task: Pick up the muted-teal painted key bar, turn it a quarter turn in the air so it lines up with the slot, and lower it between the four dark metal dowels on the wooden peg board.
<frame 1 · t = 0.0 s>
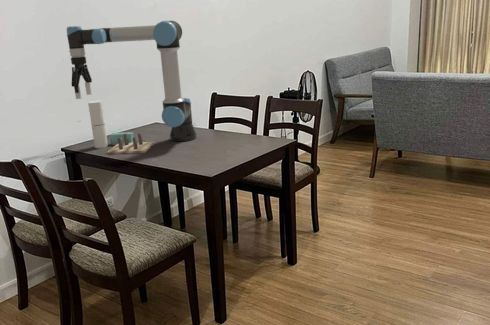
hand: (84, 96, 264), 28 cm above the table, fingers open, 13 cm apart
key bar: (123, 143, 275), on the table
wooden peg board: (131, 148, 263), on the table
cylindrical container: (101, 146, 272), on the table
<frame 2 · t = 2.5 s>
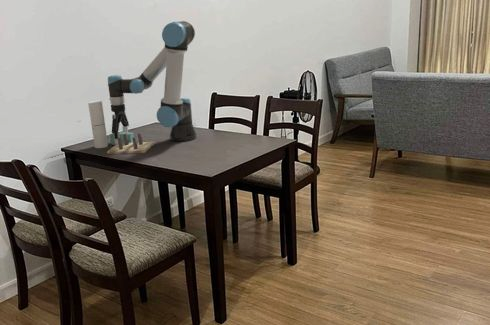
hand: (122, 141, 275), 1 cm above the table, fingers open, 13 cm apart
nothing on the table moved.
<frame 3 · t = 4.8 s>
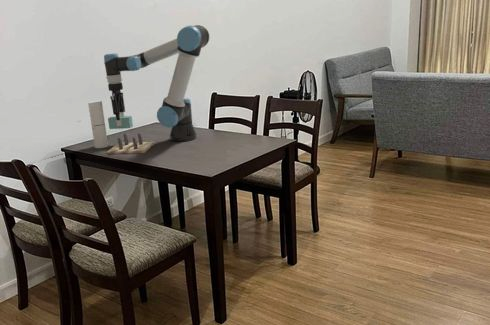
hand: (121, 124, 272), 11 cm above the table, fingers closed on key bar, 4 cm apart
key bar: (121, 127, 273), point 9 cm above the table, touching gripper
everything else where it was.
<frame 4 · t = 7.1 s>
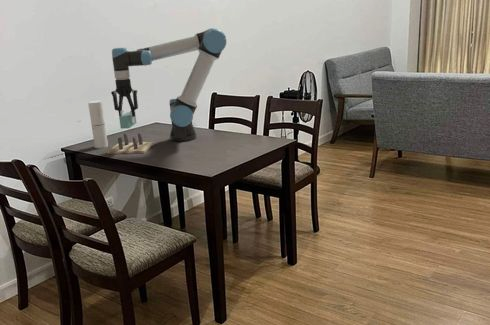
hand: (128, 122, 259), 14 cm above the table, fingers closed on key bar, 4 cm apart
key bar: (128, 125, 260), point 13 cm above the table, touching gripper
everything else where it was.
when the fingers open (2 cm above the table, at t = 9.8 s): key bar stays where it is, resting on wooden peg board.
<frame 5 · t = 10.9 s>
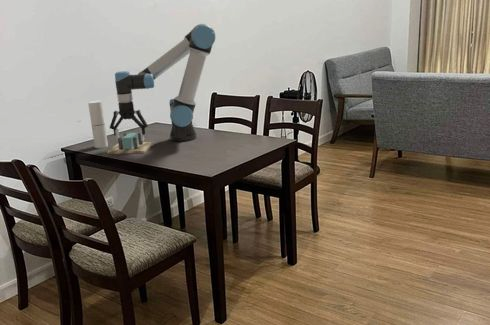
hand: (130, 140, 262), 4 cm above the table, fingers open, 13 cm apart
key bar: (131, 146, 263), point 1 cm above the table, touching wooden peg board
everything else where it was.
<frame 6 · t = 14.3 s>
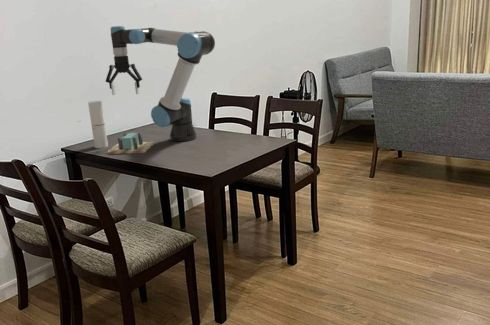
hand: (125, 94, 273), 27 cm above the table, fingers open, 13 cm apart
nothing on the table moved.
at the end: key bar 0.4 cm off-centre on the wooden peg board, point 1.3 cm above the wooden peg board's base; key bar tilted 0°; the gripper is holding nothing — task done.
